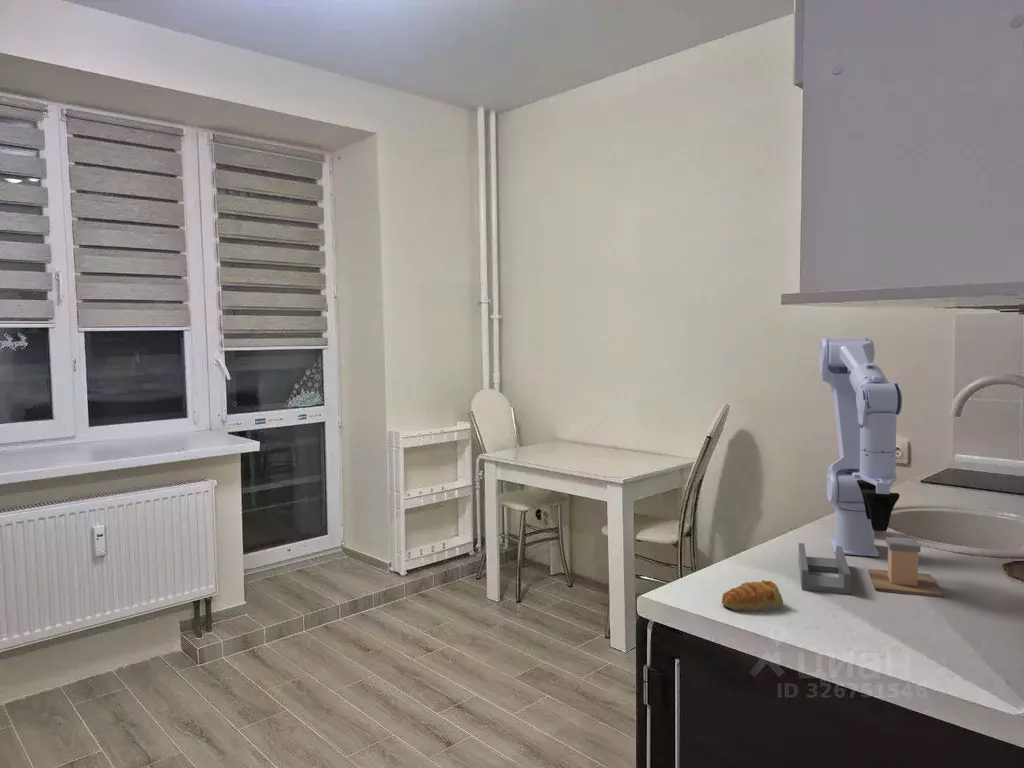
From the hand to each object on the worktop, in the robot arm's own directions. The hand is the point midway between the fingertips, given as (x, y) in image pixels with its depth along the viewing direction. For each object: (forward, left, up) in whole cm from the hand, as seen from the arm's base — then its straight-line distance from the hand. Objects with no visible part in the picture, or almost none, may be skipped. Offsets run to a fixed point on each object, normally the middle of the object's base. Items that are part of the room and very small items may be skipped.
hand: (876, 524), depth 127 cm
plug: (+3, +4, -9) cm, 10 cm away
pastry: (+20, -20, -10) cm, 30 cm away
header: (+3, -9, -9) cm, 13 cm away
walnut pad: (+3, +4, -9) cm, 11 cm away
